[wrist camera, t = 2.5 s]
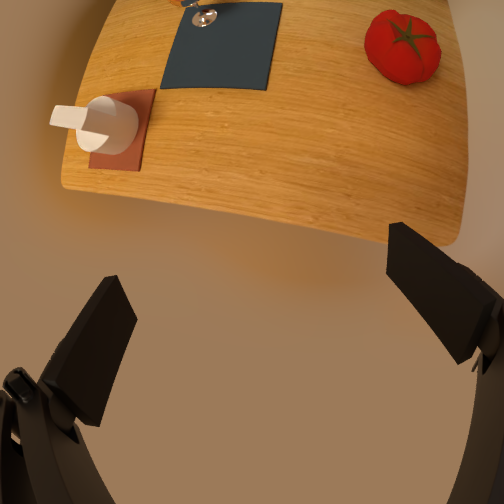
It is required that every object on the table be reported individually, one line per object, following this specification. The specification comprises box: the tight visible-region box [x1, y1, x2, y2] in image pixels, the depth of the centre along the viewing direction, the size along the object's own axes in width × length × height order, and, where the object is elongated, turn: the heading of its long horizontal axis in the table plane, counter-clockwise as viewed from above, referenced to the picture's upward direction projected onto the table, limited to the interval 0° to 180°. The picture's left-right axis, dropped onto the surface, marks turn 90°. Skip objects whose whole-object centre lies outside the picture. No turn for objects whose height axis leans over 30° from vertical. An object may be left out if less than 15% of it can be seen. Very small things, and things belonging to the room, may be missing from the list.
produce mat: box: [88, 89, 156, 171], centre depth 38 cm, size 14×12×1 cm
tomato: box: [364, 10, 442, 85], centre depth 23 cm, size 11×12×9 cm
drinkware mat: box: [160, 2, 282, 90], centre depth 32 cm, size 18×17×1 cm
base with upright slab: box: [50, 96, 138, 155], centre depth 32 cm, size 9×9×12 cm
